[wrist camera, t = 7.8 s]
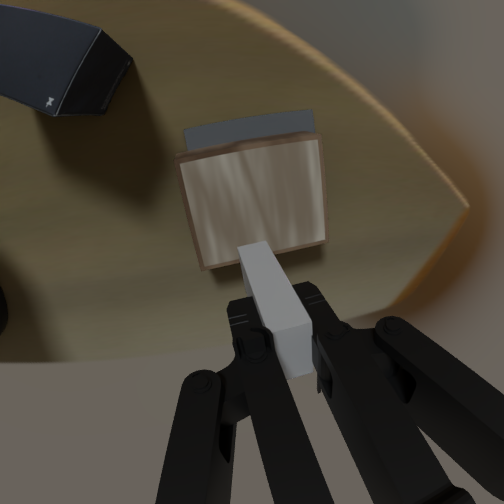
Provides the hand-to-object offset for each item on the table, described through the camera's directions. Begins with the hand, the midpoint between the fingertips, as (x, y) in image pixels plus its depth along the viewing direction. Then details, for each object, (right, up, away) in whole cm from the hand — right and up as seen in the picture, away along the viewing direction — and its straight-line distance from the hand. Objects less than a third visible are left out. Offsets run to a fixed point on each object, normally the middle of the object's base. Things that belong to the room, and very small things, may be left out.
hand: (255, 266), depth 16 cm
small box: (-16, +18, +4) cm, 25 cm away
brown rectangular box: (-6, +4, +10) cm, 12 cm away
